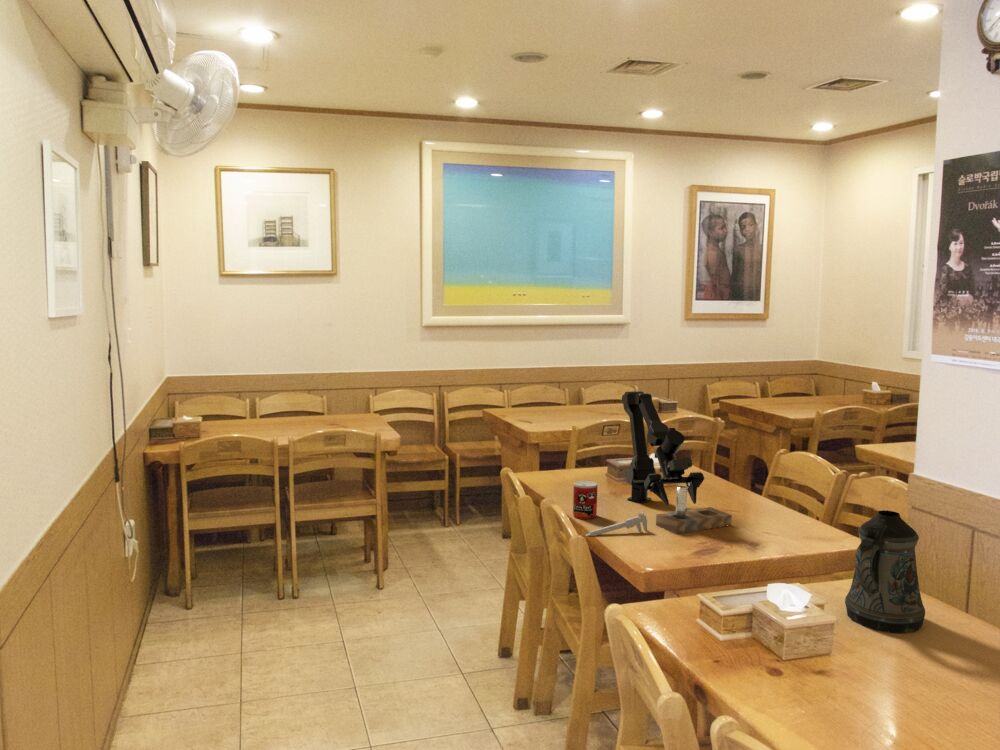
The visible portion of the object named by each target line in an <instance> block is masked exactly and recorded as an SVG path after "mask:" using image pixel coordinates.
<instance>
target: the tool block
mask: <svg viewBox="0 0 1000 750" xmlns="http://www.w3.org/2000/svg"><path fill="white" fill-rule="evenodd" d="M655 515H656V518H655V525H656V527H659V528H662V529H663V528H664V530H667V531H669V532H670V533H673V534H674V535H679V534H686V533H691V532H692V531H693V532H699V531H705V530H704V529H706V530H711V529H710V528H713V529H716V528H715V527H719V528H722V527H721V526H726V527H728V526H727V525H731V526H732V521H733V520H732V516H733V515H732V514H730V513H727V512H724V511H722V510H720V509H716V508H714V507H711V506H710V507H709V506H708V507H701V508H700V507H699V508H694V509H688V510H687V509H686V519H677V518H675V516H676V511H672V512H665V513H657V514H655ZM693 532H692V533H693Z"/></svg>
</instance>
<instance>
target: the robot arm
mask: <svg viewBox="0 0 1000 750" xmlns="http://www.w3.org/2000/svg"><path fill="white" fill-rule="evenodd" d="M621 403H622V406H623V410H624V411H625V413H626V414H627V416H628V418H629V424H630V434H631V442H632V451H633V452H632V453H633V458H632V459H631V462H630V464H629V467H630V468H629V470H628V472H627V474H626V475H625V481H626V483H627V484H629V485H631V495H630V497H628V498H627V499H626V500H628V501H631V502H632V501H633V502H636V503H637V502H638V503H641V504H642V503H643V504H645V503H647V502H648V501H651V500H652V497H648V494H649V492H650V493H653V494H654V495H655V496H657V497H658V498H659V499H660V500H661V501H662V502H663V503H664V505H666V506H669V504H670V503H669V502H670V501H669V499H668V494H667V492H666V490H665V485H669V484H670V485H674V484H677V485H678V484H685V485H686V487H687V494H689V497H690V499H691V502H692V504H694V505H696V504H697V493H698V491H697V490H698V488H700V487H701V485H702V483H703V482H704V480H705V479H706V478H705V475H704V474H703V472H701V471H696V472H695V471H694V472H693V471H691V472H690V473H689V474H688V476H682V475H685V471H687V470H688V469H690V468H692V467H693V460H692V459H691V457H690V456H686V457H684V458H677V457H676V454H677V453H678V452H679V450H680V449H681V447H682V445H683V443H684V442H685V436H684V435H683V434H682V432H681V431H680V430H679V431H678V430H676V428H675V427H668V425H666V424H665V423H664V422H662V420H661V419H660V416H659V413H658V411H657V409H656V407H655V404H654V402H653V397H652V394H651V393H645V392H643V391H641V390H640V391H625V392H624V394H622V396H621ZM645 424H646V427H647V433H646V432H645ZM646 437H647V438H646ZM646 439H647V440H646ZM647 443H648V444H649V446H650V447H656V450H655V453H654V458H655V459H657V462H658V465H659V470H658V471H659V473H657V472H656V468H655V463H654V462H655V461H654V459H653V458H651V457H650V455H648V449H647V448H648V447H647ZM660 473H661V474H660Z"/></svg>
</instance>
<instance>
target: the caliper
mask: <svg viewBox="0 0 1000 750" xmlns="http://www.w3.org/2000/svg"><path fill="white" fill-rule="evenodd" d="M637 515H638V516H634V517H630V518H627V519H624V521H621V522H618V523H615V524H611V525H608V526H605V527H601V528H597V529H594V530H590V531H589V532H588V533H586V534H585V537H596V536H600V535H603V534H606V533H609V532H613V531H616V530H619V529H620V530H621V529H623V528H626V529H627V530H629V529H631V528H634V527H636V528H637V530H638V531H639V532H640V531H642V527H643V531H644V530H645V531H644V532H647V530H648V520H647V515H646V514H645V513H644V512H643V511H641V513H640V512H638V513H637ZM641 523H642V526H641Z"/></svg>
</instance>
